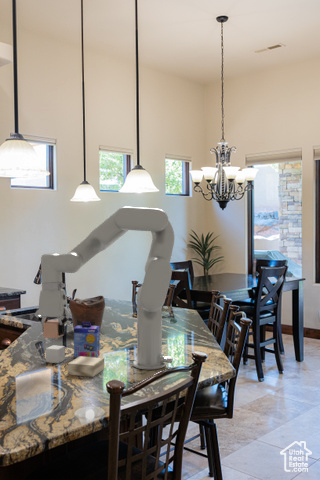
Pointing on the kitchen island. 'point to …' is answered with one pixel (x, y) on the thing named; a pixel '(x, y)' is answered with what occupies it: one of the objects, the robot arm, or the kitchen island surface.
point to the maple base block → (86, 366)
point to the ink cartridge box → (86, 341)
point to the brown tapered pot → (87, 311)
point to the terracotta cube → (51, 329)
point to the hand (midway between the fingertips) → (53, 334)
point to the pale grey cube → (55, 354)
